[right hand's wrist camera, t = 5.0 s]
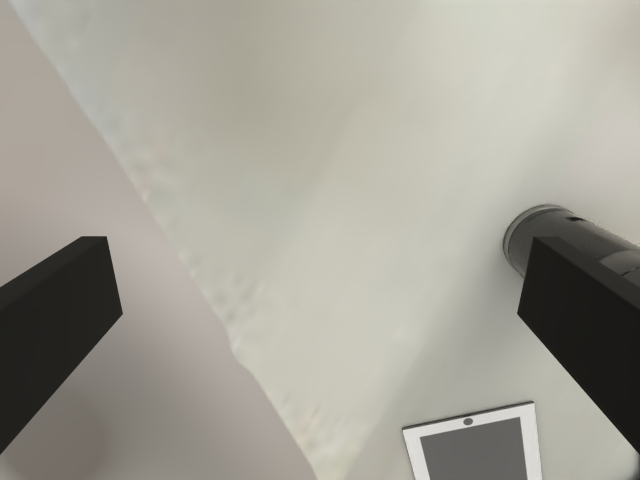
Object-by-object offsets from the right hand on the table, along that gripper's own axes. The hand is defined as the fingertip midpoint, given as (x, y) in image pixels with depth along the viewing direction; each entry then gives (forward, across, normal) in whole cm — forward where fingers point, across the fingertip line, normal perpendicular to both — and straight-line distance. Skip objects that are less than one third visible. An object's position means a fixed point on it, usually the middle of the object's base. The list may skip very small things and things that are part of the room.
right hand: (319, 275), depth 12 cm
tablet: (+36, +27, -57) cm, 72 cm away
